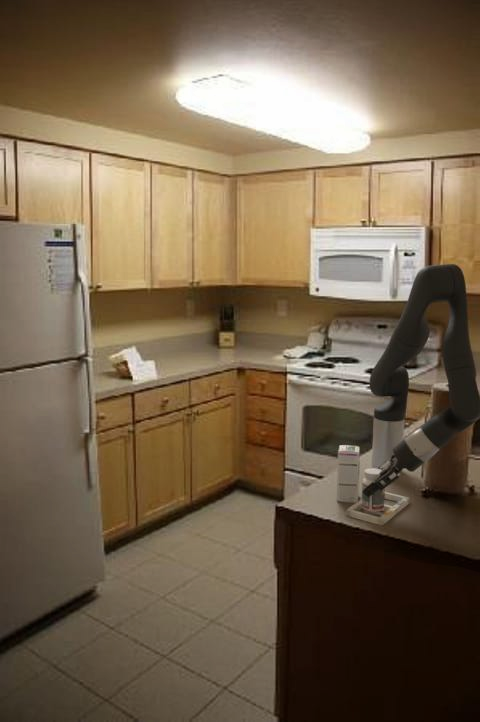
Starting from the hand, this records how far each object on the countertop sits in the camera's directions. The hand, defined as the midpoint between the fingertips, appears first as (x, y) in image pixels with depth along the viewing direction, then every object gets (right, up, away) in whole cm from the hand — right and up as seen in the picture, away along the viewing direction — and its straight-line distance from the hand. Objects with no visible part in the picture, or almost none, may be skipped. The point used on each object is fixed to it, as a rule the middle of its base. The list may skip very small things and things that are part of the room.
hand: (366, 489), depth 162 cm
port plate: (+4, -6, +4) cm, 8 cm away
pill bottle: (+2, -5, 0) cm, 5 cm away
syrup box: (-3, -5, +11) cm, 13 cm away
